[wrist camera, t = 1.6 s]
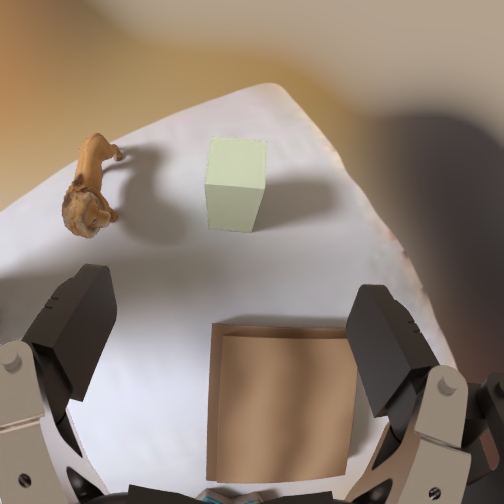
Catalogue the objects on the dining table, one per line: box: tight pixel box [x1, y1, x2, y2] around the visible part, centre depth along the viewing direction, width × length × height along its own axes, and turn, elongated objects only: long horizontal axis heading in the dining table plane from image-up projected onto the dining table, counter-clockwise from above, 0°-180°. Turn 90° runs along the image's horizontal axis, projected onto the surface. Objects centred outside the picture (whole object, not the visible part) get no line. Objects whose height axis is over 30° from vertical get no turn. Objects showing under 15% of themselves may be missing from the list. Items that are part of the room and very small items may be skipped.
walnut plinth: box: [206, 323, 357, 483], centre depth 24 cm, size 14×16×5 cm
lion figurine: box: [62, 133, 122, 238], centre depth 26 cm, size 15×5×9 cm, turn 15°
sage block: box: [205, 137, 267, 233], centre depth 27 cm, size 4×4×10 cm
